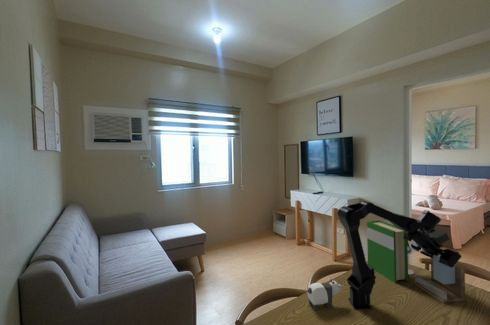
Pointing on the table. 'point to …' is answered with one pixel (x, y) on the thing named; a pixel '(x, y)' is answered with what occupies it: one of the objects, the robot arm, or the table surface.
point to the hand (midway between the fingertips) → (447, 263)
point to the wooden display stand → (444, 286)
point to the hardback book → (387, 250)
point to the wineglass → (410, 251)
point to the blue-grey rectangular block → (443, 271)
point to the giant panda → (322, 293)
